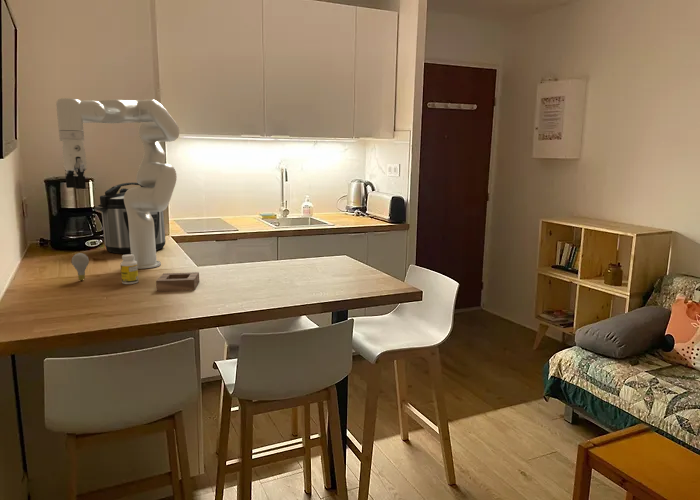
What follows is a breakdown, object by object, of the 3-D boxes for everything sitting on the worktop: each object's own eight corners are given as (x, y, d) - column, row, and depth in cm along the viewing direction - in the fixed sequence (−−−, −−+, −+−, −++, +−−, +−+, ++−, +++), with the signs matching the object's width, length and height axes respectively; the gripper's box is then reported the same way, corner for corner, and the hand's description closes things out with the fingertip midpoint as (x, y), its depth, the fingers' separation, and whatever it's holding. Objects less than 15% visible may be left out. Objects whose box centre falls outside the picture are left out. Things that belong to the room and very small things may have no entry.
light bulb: (83, 282, 194) (81, 254, 192) (70, 282, 195) (67, 254, 193) (93, 279, 199) (91, 252, 197) (80, 278, 200) (77, 251, 199)
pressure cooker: (94, 256, 245) (88, 184, 240) (108, 246, 273) (102, 181, 267) (165, 253, 251) (160, 183, 246) (171, 244, 279) (167, 180, 273)
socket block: (164, 283, 192) (163, 273, 191) (199, 282, 194) (198, 272, 193) (156, 291, 180) (156, 281, 180) (194, 290, 182) (193, 279, 181)
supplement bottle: (119, 282, 193) (117, 255, 192) (134, 280, 197) (132, 253, 196) (126, 285, 190) (124, 257, 188) (141, 282, 194) (139, 255, 192)
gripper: (92, 136, 181) (96, 188, 184) (75, 137, 194) (79, 186, 197) (67, 135, 176) (71, 189, 179) (52, 137, 189) (56, 187, 192)
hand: (76, 188), depth 188 cm, fingers open, 9 cm apart
